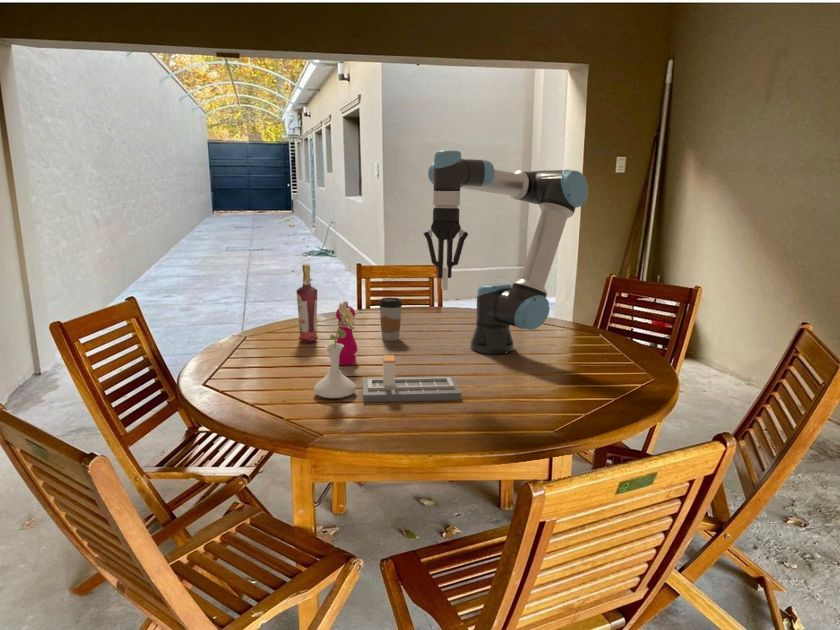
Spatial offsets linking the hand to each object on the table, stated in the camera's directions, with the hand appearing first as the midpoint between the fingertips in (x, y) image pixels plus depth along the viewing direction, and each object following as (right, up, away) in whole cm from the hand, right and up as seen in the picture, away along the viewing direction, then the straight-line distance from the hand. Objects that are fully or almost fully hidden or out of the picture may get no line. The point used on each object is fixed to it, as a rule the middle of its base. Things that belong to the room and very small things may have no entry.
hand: (444, 289), depth 168 cm
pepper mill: (-31, -23, +17) cm, 42 cm away
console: (-10, -29, -9) cm, 32 cm away
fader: (-16, -27, -10) cm, 33 cm away
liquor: (-48, -17, +41) cm, 65 cm away
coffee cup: (-18, -17, +46) cm, 52 cm away
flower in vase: (-30, -29, -11) cm, 43 cm away
